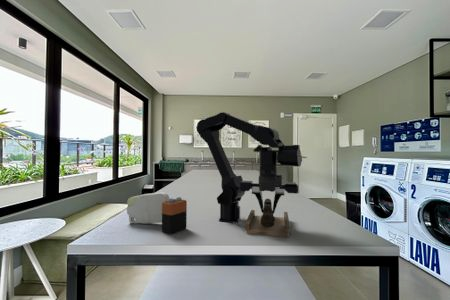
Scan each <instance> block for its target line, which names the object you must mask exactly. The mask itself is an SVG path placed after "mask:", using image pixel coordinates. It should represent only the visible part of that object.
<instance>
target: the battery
mask: <svg viewBox="0 0 450 300" xmlns="http://www.w3.org/2000/svg"><path fill="white" fill-rule="evenodd" d="M187 205H188V203H187V199H182V197H180V196H179V197H176V198H171V197H169V199H167V201H165V202H162V222H161V232H163V233H166V234H168V235H173V234H175V233H177V232H180V231H183V230H186V229H187V222H188V221H187V218H188V217H187V211H188V210H187Z"/></svg>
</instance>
